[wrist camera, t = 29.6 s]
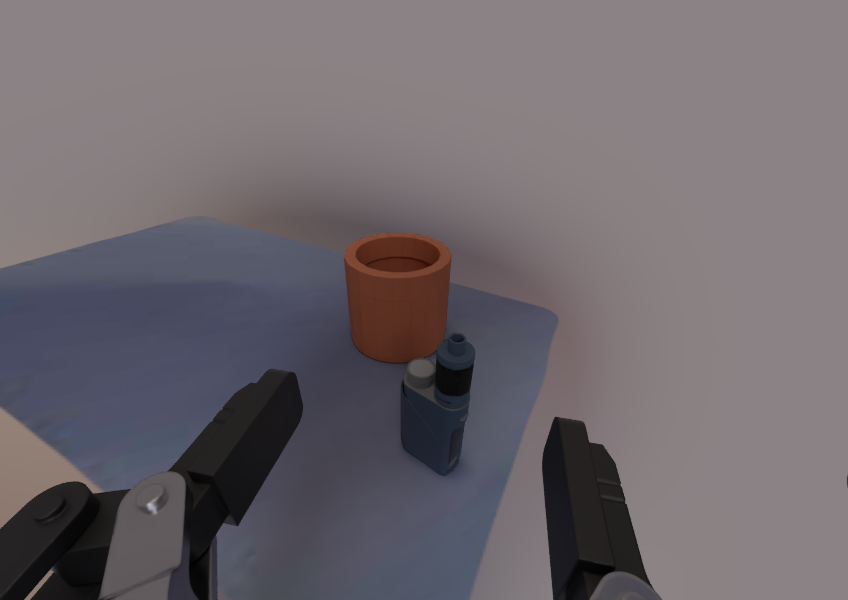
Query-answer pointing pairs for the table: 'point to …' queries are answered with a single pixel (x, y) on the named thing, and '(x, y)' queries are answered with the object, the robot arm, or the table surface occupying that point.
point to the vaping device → (437, 404)
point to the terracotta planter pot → (397, 295)
